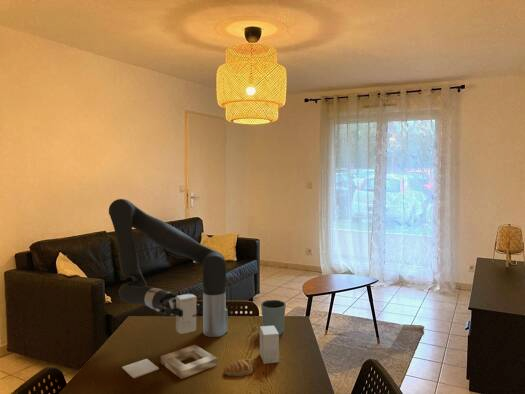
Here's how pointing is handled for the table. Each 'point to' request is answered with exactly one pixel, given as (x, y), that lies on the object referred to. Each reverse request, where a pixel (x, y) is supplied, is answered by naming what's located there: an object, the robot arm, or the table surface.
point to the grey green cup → (273, 314)
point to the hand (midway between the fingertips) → (190, 310)
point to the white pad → (140, 368)
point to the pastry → (239, 368)
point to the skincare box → (186, 313)
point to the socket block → (185, 370)
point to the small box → (269, 344)
